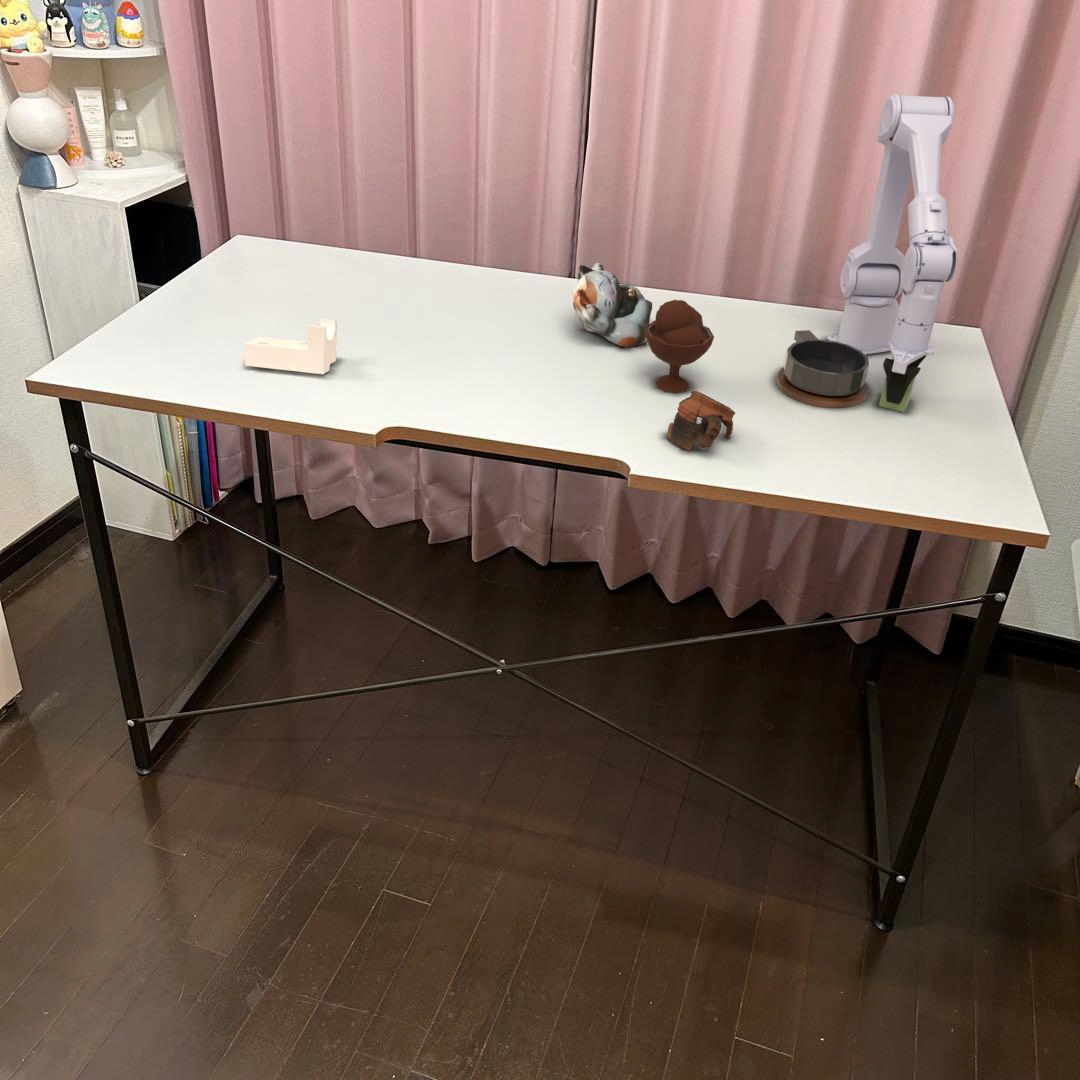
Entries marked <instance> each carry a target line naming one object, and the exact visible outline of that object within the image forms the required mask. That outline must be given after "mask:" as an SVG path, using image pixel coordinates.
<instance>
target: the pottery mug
mask: <svg viewBox="0 0 1080 1080" xmlns="http://www.w3.org/2000/svg"><path fill="white" fill-rule="evenodd" d="M678 405H679V406H678V407H677V412H676V414H675V416H674V418H673V422H669V424H668V427H667V433H666V438H667V439H668V440H670V441H671V442H672V443H674V444H675V445H677V446H679V447H681V448H682V449H683V450H687V451H689V452H690V451H691V450H692V448H693V445H694V444H696V445H697V447H699V448H700V449H709V448H711V447H712V445H713V444H714V443H715V441H716V440H717V439H718V436H719V435H720V433H721V430H722V424H723V426H724V427H725V432H724V437H725V438H731V435H732V434H733V430H734V421H733V418H734V415H736V411H734V409H732V408H731V407H730V406H727V405H725V404H724V403H722V402H720V401H717V400H715V398H712V397H710V396H708V395H706V394H704V393H702V392H700V391H697V390H691V391H690V396H688V397H685V398H684V399H683V400H681V401H680V402H679V403H678ZM698 419H700V422H697V421H698Z"/></svg>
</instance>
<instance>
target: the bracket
mask: <svg viewBox="0 0 1080 1080" xmlns="http://www.w3.org/2000/svg"><path fill="white" fill-rule="evenodd" d="M337 344H338V320H335V319H325V318H321V319H320V320H319V325H318V324H308V327H307V341H302V340H294V339H293V340H292V339H285V338H284V339H283V338H274V337H265V336H259V337H257V338H254V339H252V340H249V341H247V342H246V343H244V366H246V367H254V368H255V367H256V368H263V369H264V368H265V369H272V370H273V369H274V370H281V371H291V372H299V373H308V374H317V375H324V374H327V373H328V372H330V371H331V365H332V364H333V363H335V362H336V361H337V349H338V348H337V346H338V345H337Z"/></svg>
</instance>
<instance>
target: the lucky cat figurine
mask: <svg viewBox="0 0 1080 1080" xmlns="http://www.w3.org/2000/svg"><path fill="white" fill-rule="evenodd" d="M578 270H579V271H578V273H577V277H578V278H577V282H576V284H575V286H574V287H573V290H572V291H571V293H572V299H573V300H572V301H573V302H572V307H573V310H574V313H575V314H576V316H577V317H578V319H579V320H580V322H581V323H583V324H584V329H585V331H587V332H593V333H596V334H597V335H599V336H601V337H603V338H605V339H606V340H608V341H610V342H611V343H613V344H614V345H618V347H621V348H625V349H628V348H629V349H630V348H632V347H639V346H641V345H642V344H643V343H648V341H647V338H646V333H645V328H646V327H647V326H648V325H649V324H650V321H651V314H652V310H653V302H652V301H650V300H648V299H646V298H645V296H644V295H643V294H642V292H641V290H640V289H638V288H637V287H636V286H634V285H632V284H620V282H619V278H618V276H617V275H616V274H615V272H612V271H610V270H605V269H604V265H603V264H602V263H600V262H596V263H594V264H593V266H592V267H591V268H590V267H588V266H586V265H584V264H580V265H579V268H578Z"/></svg>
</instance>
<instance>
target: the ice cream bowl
mask: <svg viewBox="0 0 1080 1080" xmlns="http://www.w3.org/2000/svg"><path fill="white" fill-rule="evenodd" d="M645 333H646V338H647V344H648V347H649V348H650V350H651V353H652V354H653V355H654V356H655V357H656V358H657V359H659V360H660V361H662V362H663V363H666V364H668V366H669V369H668V373H667V374H665V375H662V376H660V377H658V379H657V380H656V381H655V385H656V387H657V389H659V390H661V391H663V392H665V393H672V394H680V393H685V392H687V391H688V390H689V389H690V383H689V382H688V380H687V379H686V378H684V377H682V376H681V375H680V374H681V368H682V366H688V365H690V364H693V363H695V362H696V361H699V359H700V358H702V356H704V355H705V354H706V353H707V352H708V351H709V350H710V348H711V346H712V344H713V342H714V339H715V336H714V334H713V332H712V331H711V329H710V327H708V326H705V325H704V322H703V315H702V314H701V313H700V312H699V311H698V310H697V309H695V308H694V307H692V306H691V305H690V304H689V303H688V302H687V301H686V300H683V299H671V300H669V301H666V302H664V303H662V304H661V305H660V306H659V308H658V310H657V311H656V314H655V320H653V321H652V322H651V323H649V325H648V326H647V327H646V328H645Z"/></svg>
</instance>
